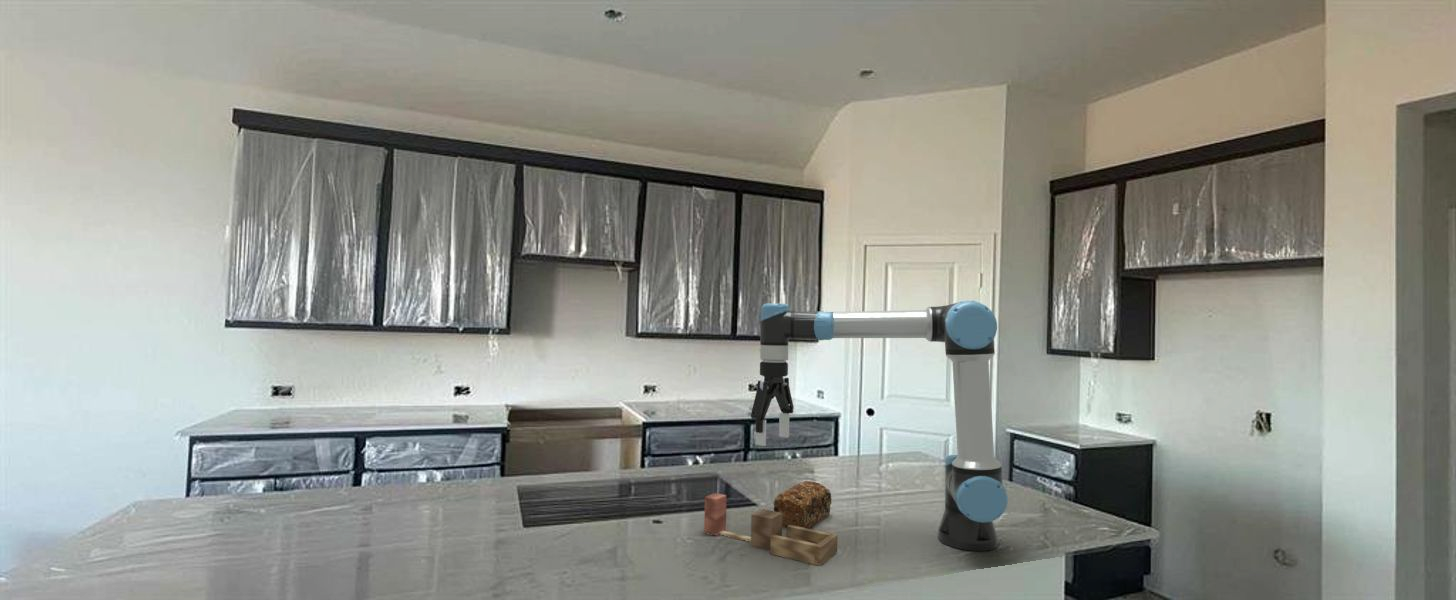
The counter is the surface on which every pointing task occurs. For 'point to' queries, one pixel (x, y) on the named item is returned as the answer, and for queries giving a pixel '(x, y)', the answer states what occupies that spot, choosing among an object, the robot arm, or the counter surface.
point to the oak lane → (805, 545)
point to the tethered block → (761, 522)
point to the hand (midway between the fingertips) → (772, 441)
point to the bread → (803, 504)
